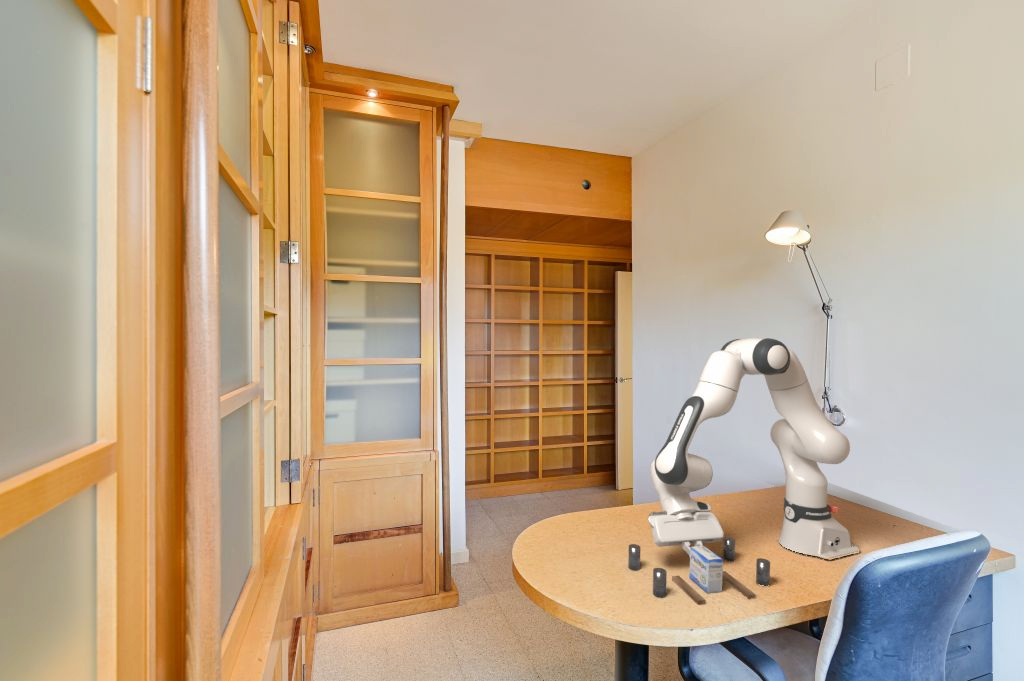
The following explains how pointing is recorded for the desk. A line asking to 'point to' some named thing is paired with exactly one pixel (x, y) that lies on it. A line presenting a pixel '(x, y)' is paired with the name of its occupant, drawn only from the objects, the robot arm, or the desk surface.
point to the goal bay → (700, 599)
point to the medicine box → (706, 569)
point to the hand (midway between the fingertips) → (697, 559)
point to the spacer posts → (728, 555)
